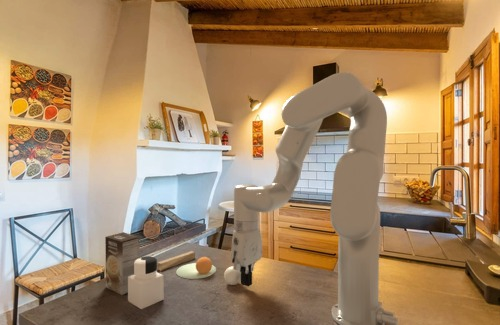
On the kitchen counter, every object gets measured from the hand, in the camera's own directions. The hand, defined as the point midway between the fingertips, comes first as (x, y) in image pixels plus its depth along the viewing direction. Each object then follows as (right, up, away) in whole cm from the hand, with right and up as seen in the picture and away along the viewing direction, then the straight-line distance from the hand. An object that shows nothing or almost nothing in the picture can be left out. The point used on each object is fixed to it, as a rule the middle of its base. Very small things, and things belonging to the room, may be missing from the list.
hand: (246, 284), depth 88 cm
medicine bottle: (-28, -2, -7) cm, 29 cm away
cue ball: (-4, +1, +3) cm, 6 cm away
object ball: (-15, +2, +12) cm, 19 cm away
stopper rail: (-27, -1, +21) cm, 34 cm away
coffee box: (-39, -2, +1) cm, 39 cm away
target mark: (-18, -1, +14) cm, 23 cm away
